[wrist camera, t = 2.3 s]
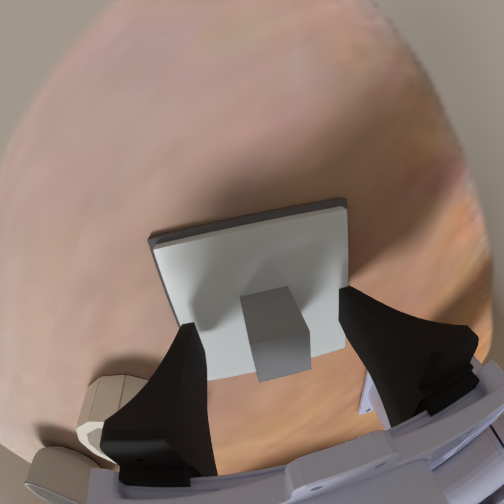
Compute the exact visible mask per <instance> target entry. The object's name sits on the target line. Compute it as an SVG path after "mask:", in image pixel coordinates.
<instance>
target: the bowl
mask: <svg viewBox="0 0 504 504" xmlns="http://www.w3.org/2000/svg"><path fill="white" fill-rule="evenodd" d="M148 381H149V380H145V379H141V378H137V377H133V376H129V375H127V376H126V375H114V376H101V377H99V378H98V379H97V380H95V381H94V382H93V383H92V384H91V385H89V386H88V388H87V392H86V395H85V398H84V402H83V405H82V408H81V412H80V416H79V419H78V423H77V427H76V432H77V435H78V439H79V441H80V442H81V443H82V444H83V445H84V446H86V447H87V448H88V449H89V450H90V451H92V452H93V453H94V454H96V455H98V456H100V457H102V458H104V459H106V460H109V461H111V462H113V463H115V462H114V461H113V460H111V459H110V458H109V457H108V456H106V455H105V454H104V453H103V452H102V451H101V449H100V447H99V445H100V439H101V434H102V428H103V424H104V421H105V420H106V419H107V418H109V417H110V416H112V415H113V414H114V413H116V412H117V411H118V410H120V409H121V408H122V407H123V406H124V405H126V404H127V403H128V402H129V401H130V400H131V399H132V398H133V397H134V396H135V395H136V394H137V393H138V392H139V391H140V390H141V389H142V388H143V387H144V386H145V384H146V383H147V382H148ZM115 464H117V463H115Z"/></svg>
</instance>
